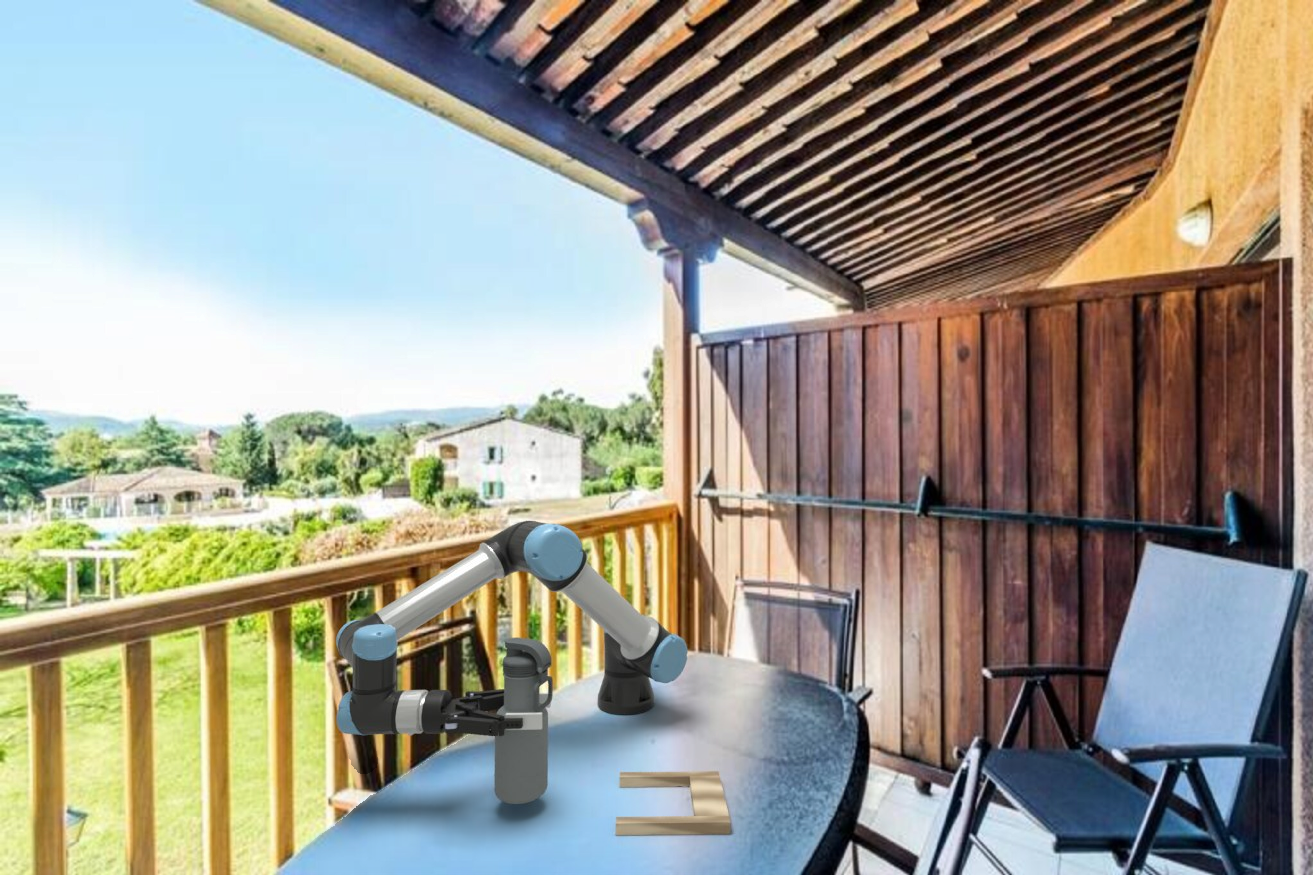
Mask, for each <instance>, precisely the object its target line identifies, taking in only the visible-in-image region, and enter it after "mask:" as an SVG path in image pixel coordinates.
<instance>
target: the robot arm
mask: <svg viewBox="0 0 1313 875" xmlns="http://www.w3.org/2000/svg"><path fill="white" fill-rule="evenodd" d="M588 559H589V558H588V553H587V552H586V550H584V549H583V545H582V541H581V540H580V538H579V537H578V536H577V534H576V533H575V532H574V531H573V530H571V529H570V528H567V527H566V526H564V525H560V524H558V523H546V522H541V521H540V522H539V521H535V520H524V521H520V522H517V523H514V524H512V525H511V526H508V527H507V528H505V529H503V530H501V531H499V532H498V533H496V534H495V535H493V536H491V537H489V538H488V539H486V540H485V541H483V542H481V543H480V544H479V547H478V549H477V551H475V552H473V553H471V554H470V555H468V556H467V557H465V558H463V559H461V560H460V561H458V562H456V563H455V564H453V565H452V566H450V567H448V568H447V569H445V570H443V571H442V572H440V573H438V574H437V575H435V576H433V577H432V578H430V579H429V580H426V581H425V582H424V583H422V584H420V585H419V586H416V587H415V588H413V589H412V590H410V591H408V592H407V593H406V594H404V595H402V596H400V597H399V598H397V599H396V600H394V601H391V603H389V604H387V605H385V606H384V607H382V608H381V609H379V610H377V611H376V612H373V613H372V614H370V615H368V616H367V617H365V618H364V619H354V620H351V621H348V622H346V623H345V624H343V626H342V627H341V628H340V629H339V630H338V633H337V635H336V638H335V644H336V647H337V650H338V653H339V656H340V657H342V658H343V659H344V660H346V661H347V663H348V664H349V666H350V667H351V668H352V689H351V690H352V691H351V690H350V691H348V692H346V693H344V695H343V696H342V697H341V698H340V701H339V702H338V703H339V704H338V711H337V713H336V725H337V727H338V729H339V731H340V732H341V733H343V734H346V735H361V736H368V735H369V736H370V735H396V734H397V735H401V734H404V735H405V734H407V735H408V736H409V737H410V736H411V737H412V736H413V735H414V734H422V733H423V732H424V734H431V735H432V734H437V735H438V734H444V733H445V734H465V735H474V736H475V735H476V736H487V737H495V736H497V735H498V732H499V736H503V735H504V729H505V730H539V729H542V713H506V715H505V718H504V716H503V715H498V714H496V713H493V712H490V711H495V710H496V711H497V710H499V709H500V708H501V707H502V706H504V688H502V689H501V688H499V689H491V690H481V691H473V690H472V691H466V692H465V695H464V696H461V697H459V698H454V697H453V696H452V693H451V691H450V690H449V689H431V690H430V691H429V690H427V689H407V690H406V689H405V690H398V689H397V657H398V656H397V654H398V653H397V651H398V650H397V649H398V641H399V640H400V639H403V637H405V636H407V635H409V634H410V633H411V632H413V631H415V630H416V629H418V628H419V627H421V626H422V625H424V624H426V623H427V622H428V621H430V620H432V619H433V618H435V617H437V616H439V615H440V614H441V613H443V612H444V611H446V610H447V609H449V608H450V607H452V606H454V605H456V604H457V603H458V602H460V601H461V600H463V599H465V598H466V597H468V596H470V595H471V594H473V593H474V592H476V591H478V590H480V589H481V588H482V587H484V586H485V585H486V584H488V583H490V582H492V581H494V580H495V579H499V580H502V579H505V578H506V577H507V576H509V575H511V574H513V573H517V572H525V573H528V574H530V575H532V576H533V577H534V578H535V579H537V580H538V581H539V583H541V584H542V585H543V586H544V587H545V588H547V589H548V590H549V591H550V592H552V593H559V592H562V594H564V595H565V596H566V597H567V598H568V599H570V601H572V602H573V603H574V604H575V605H576V606H577V607H578V608H579V609H580V610H582V612H583V613H585V614H586V615H587V616H588V617H589V618H590V619H592V620H593V621H594V622H595V623H596V624H597V625H598V626H599V627H600V628H602V629H603V630H604V631H603V635H604V642H603V644H604V646H603V647H604V658H603V659H604V661H603V662H604V663H603V664H604V665H603V666H604V670H603V671H604V672H603V673H604V675H603V679H602V681H601V685H600V686H599V687H600V689H599V692H598V693H597V694H598V695H597V707H598V708H599V709H600V710H601V711H604V712H606V713H609V714H613V715H635V714H637V715H638V714H641V713H644V712H647V711H649V710H650V709H652V708H653V707H654V705H655V693H654V690H653V686H652V683H651V681H650V679H651V680H653V681H654V682H657V683H662V684H668V683H671V682H673V681H675V680H676V679H678V678H679V677H680V676H681V674H682V673H683V671H684V669H685V668H686V665H687V661H688V653H689V652H688V645H687V643H686V641H685V640H684V639H683V638H682V637H681V636H679V635H678V634H676V633H671V632H670V631H668V630H667V628H665V627H664V626H663V625H661V623H659V621H658V620H657V619H655V618H654V617H651V616H646V615H643V614H642V613H640V612H639V611H638V610H637V609H636V607H634V606H633V605H632V604H631V603H630V602H629V601H628V600H627V599H625V598H624V597H623V596H622V595H621V594H620V592H619V591H617V590H616V589H615V588H614V587H613V586H612V585H611V584H610V583H609V582H608V581H607V580H606V579H605V578H604V577H603V576H601V574H599V573H598V572H597V571H596V570H595V569H594V568H593V566H591V565H590V564H589V562H588ZM547 698H548V691H542V692H541V691H539V702H540V703H541V704H543V703H544V702H545V701H546V700H547ZM551 704H552V703H550V704H549V705H547V706H546V709H547V708H548V709H549V708H551Z"/></svg>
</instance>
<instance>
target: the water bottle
mask: <svg viewBox="0 0 1313 875" xmlns="http://www.w3.org/2000/svg"><path fill="white" fill-rule="evenodd" d="M504 648H505V649H506V654H505V656H504V658H502V672H503V673H502V676H503V679H504V680H503V689H504V706H502V707H501V708H500V709H497V711H496V713H495V714H498V715H503V716H504V718H505V715H506V713H542V729H539V730H505V729H504V735H503V736H499V732H498V735H497V736H494V774H493V775H494V776H493V777H494V784H493V785H494V786H493V789H494V794H495V796H496V797H497V799H498V800H499V801H501V802H503V803H507V804H513V805H519V804H520V805H521V804H527V803H531V802H533V801H535V800H537V799H539V798H541V797H542V796H543V795H544V794H545V792H546V791H547V788H548V785H549V784H548V783H549V782H548V781H549V780H548V776H549V775H548V772H549V771H548V768H549V767H548V766H549V760H548V757H549V752H548V751H549V745H548V744H549V713H548V712H549V711H548V710H547V708H546V706H547V705H549V704H550V703H551V702H552V700H553V694H554V692H553V691H554V690H553V683H554V682H553V677H552V676H549V674H548V673H549V668H551V667H552V655H551V653H550V650H549V648H547V646H546V645H545V644H544V643H543V642H541V641H539V640H537V639H532V638H525V637H524V638H523V637H510V638H509V637H508V638H506V639H505V640H504ZM546 682H547V687H548V688H547V689H548V691H547V692H548V698H547V700H546V701H545V702H544V703H543V704H541V703H540V702H539V692H540V687H541V686H543V685H544V684H545V683H546ZM551 704H552V703H551Z"/></svg>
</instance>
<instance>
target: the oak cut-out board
mask: <svg viewBox="0 0 1313 875" xmlns="http://www.w3.org/2000/svg"><path fill="white" fill-rule="evenodd" d="M674 786H690V787H689V791H690V797H691V799H692V800H691V805H692V806H693V807H692V806H691V807H692V814H693V815H691V816H690V815H688V816H687V815H680V816H679V815H676V816H674V815H673V816H670V815H669V816H668V815H667V816H664V815H663V816H616V817H615V836H666V835H667V836H674V835H678V836H679V835H683V836H685V835H732V834H731V833H732V832H731V829H732V828H731V823H732V822H731V816H730V813H729V809H728V806H727V801H726V796H725V793H724V792H725V791H724V788H723V784H722V780H721V776H720V772H719V771H718V770H711V771H709V770H708V771H705V770H703V771H700V770H698V771H689V770H688V771H620V772H619V788H675V787H674Z"/></svg>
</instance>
